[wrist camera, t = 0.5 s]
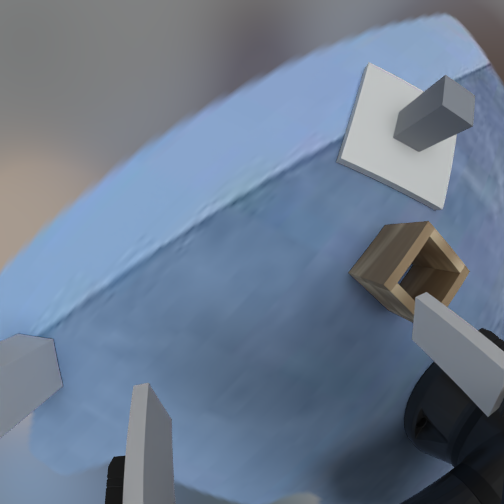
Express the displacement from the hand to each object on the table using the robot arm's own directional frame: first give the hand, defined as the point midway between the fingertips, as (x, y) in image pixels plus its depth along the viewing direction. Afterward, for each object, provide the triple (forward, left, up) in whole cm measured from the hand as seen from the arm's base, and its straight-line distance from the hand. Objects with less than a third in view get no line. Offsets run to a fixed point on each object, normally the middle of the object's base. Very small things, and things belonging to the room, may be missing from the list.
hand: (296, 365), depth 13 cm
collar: (-7, -10, -15) cm, 19 cm away
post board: (0, -22, -15) cm, 26 cm away
